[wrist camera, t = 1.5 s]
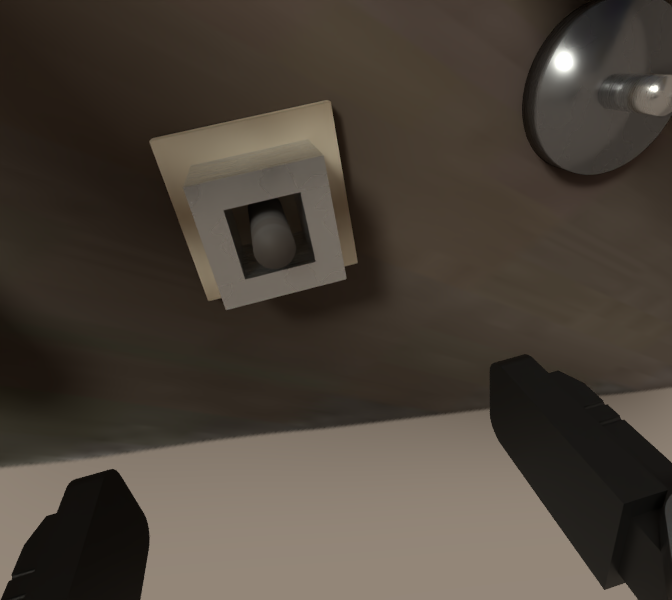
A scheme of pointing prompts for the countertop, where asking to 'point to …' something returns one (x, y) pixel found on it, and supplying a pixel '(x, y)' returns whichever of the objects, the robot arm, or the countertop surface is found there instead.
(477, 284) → the countertop surface
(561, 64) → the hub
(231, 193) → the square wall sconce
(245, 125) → the stand
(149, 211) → the countertop surface
